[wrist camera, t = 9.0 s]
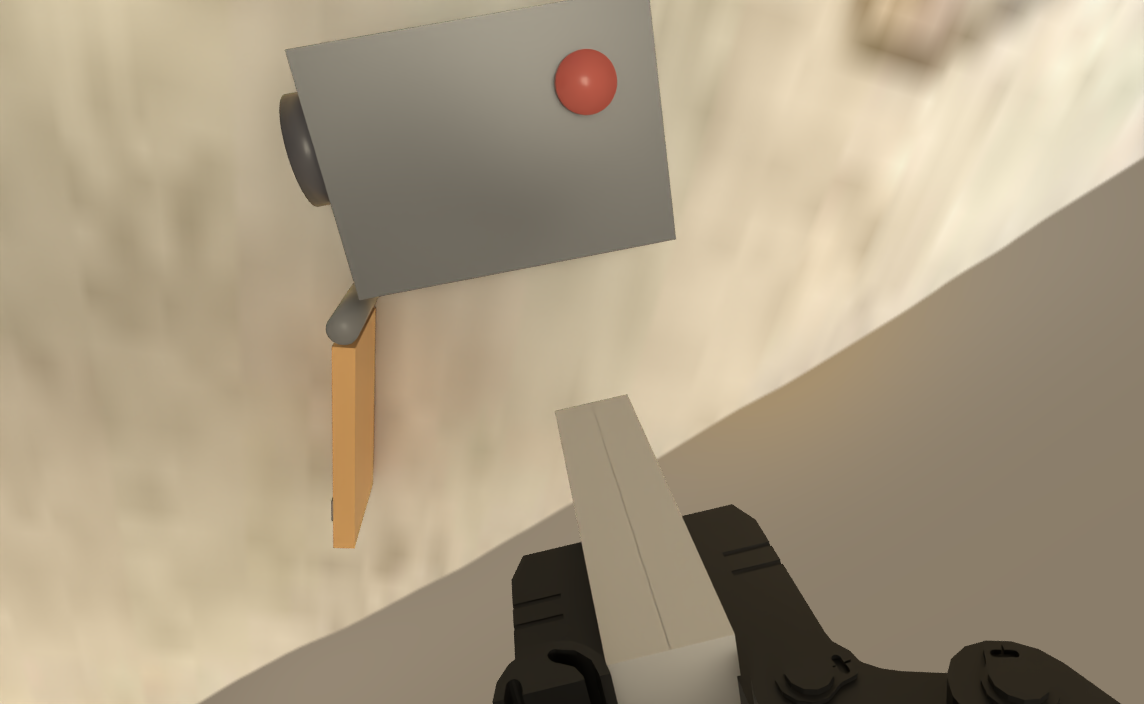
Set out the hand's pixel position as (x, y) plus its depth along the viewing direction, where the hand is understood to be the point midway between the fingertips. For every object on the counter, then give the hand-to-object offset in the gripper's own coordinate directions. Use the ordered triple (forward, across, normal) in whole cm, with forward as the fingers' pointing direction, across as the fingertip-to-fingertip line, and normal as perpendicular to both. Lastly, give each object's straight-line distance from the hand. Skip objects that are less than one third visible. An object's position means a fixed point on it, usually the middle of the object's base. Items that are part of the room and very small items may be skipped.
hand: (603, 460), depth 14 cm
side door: (+23, -11, -6) cm, 26 cm away
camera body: (+24, -1, +5) cm, 24 cm away
